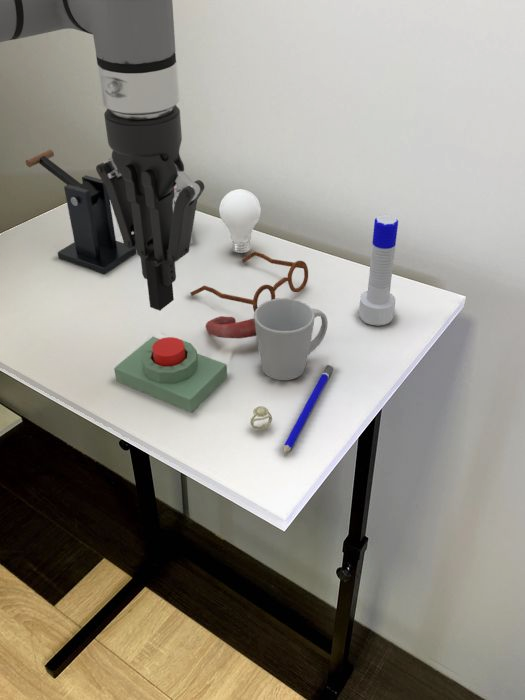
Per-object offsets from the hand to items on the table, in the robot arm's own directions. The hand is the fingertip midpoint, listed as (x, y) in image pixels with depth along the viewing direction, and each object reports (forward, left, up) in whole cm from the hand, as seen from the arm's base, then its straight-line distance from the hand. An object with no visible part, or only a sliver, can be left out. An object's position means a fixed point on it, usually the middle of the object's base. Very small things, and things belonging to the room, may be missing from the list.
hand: (162, 303), depth 85 cm
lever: (-34, +19, 0) cm, 40 cm away
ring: (+15, -2, -12) cm, 19 cm away
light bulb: (-10, +32, -12) cm, 36 cm away
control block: (0, 0, -12) cm, 12 cm away
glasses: (-2, +23, -12) cm, 26 cm away
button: (0, 0, -8) cm, 8 cm away
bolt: (+17, +26, -12) cm, 34 cm away
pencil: (+18, +4, -12) cm, 21 cm away
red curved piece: (+8, +19, -10) cm, 22 cm away
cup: (+12, +10, -12) cm, 20 cm away
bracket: (-30, +19, -12) cm, 37 cm away
